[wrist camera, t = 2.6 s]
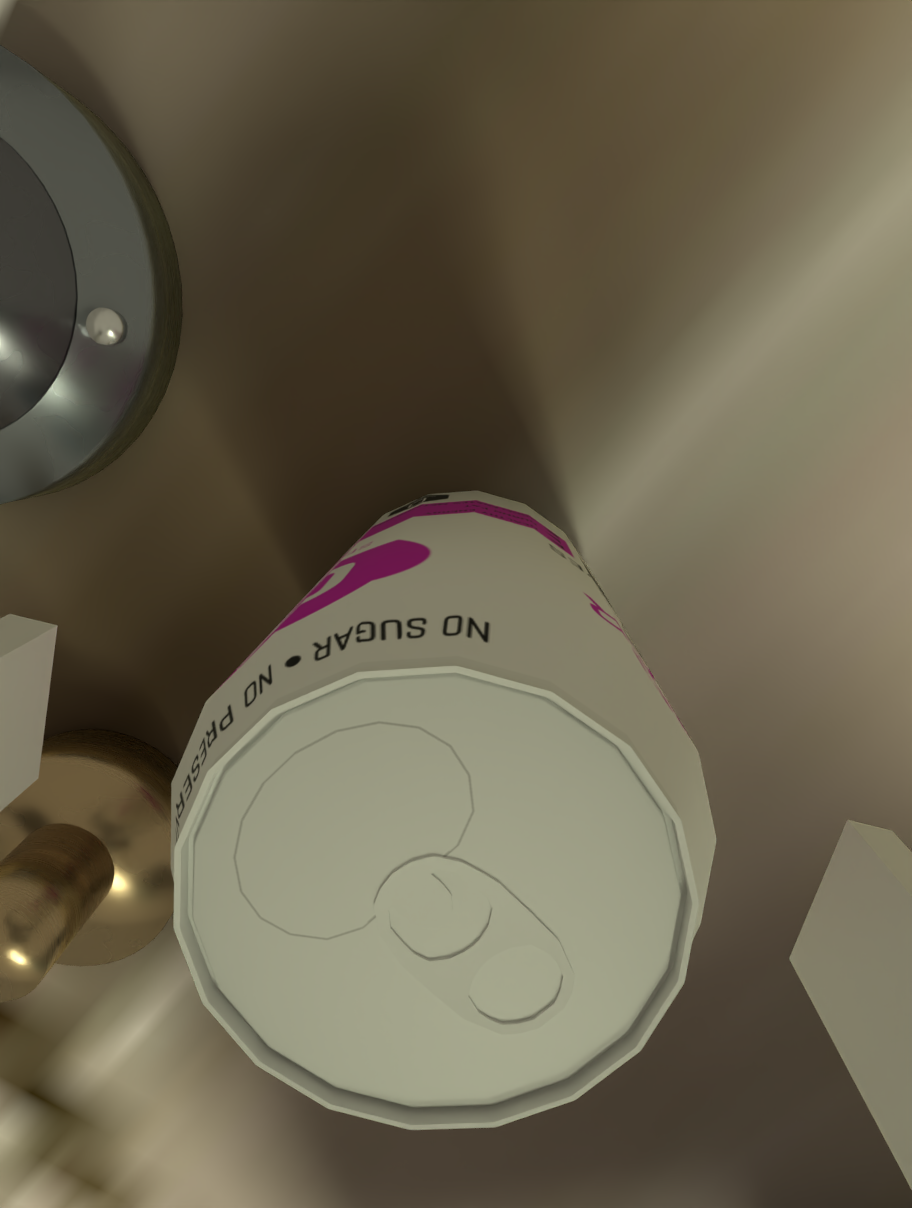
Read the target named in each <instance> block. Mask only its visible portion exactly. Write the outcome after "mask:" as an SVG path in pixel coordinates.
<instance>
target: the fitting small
mask: <svg viewBox="0 0 912 1208" xmlns="http://www.w3.org/2000/svg"><path fill="white" fill-rule="evenodd" d="M177 769H178V767H177V766H176V765H175V764H174V763H173V762H172V761H171V760H169V759H168V758H167V757H166V756H164V755H163V754H162V753H161V752H159V751H158V750H156V749H155V748H153V747H151V746H150V745H148V744H146V743H144V742H142V741H140V740H138V739H135V738H133V737H131V736H127V735H124V734H121V733H117V732H112V731H106V730H94V729H87V730H75V731H70V732H65V733H61V734H58V735H55V736H52V737H50V738H48V739H46V740H44V741H43V745H42V753H41V761H40V769H39V777H38V779H37V780H36V781H35V782H34V783H32V784H31V785H30V786H29V787H28V788H27V789H26V790H24V791H23V792H22V793H21V794H20V795H19V796H18V797H16V798H15V799H14V800H13V801H12V802H11V803H10V804H8V805H7V806H6V807H5V808H4V809H3V810H2V811H1V812H0V1002H6V1001H12V1000H16V999H19V998H21V997H23V996H25V995H27V994H28V993H30V992H31V991H32V990H34V989H35V988H36V986H37V985H38V984H39V983H40V982H41V980H42V979H43V978H44V976H45V975H46V974H47V972H48V971H49V970H50V969H51V967H52V966H53V965H54V963H58V964H63V965H72V966H93V965H100V964H106V963H110V962H114V961H117V960H120V959H123V958H125V957H127V956H130V955H132V954H134V953H135V952H137V951H139V950H140V949H142V948H143V947H145V946H146V945H147V944H148V943H150V942H151V941H152V940H153V939H154V938H155V937H156V936H157V935H158V934H159V932H160V931H161V930H162V929H163V927H164V926H165V924H166V923H167V921H168V920H169V918H170V916H171V915H172V913H173V912H174V880H173V876H172V872H171V783H172V781H173V778H174V776H175V773H176V771H177Z"/></svg>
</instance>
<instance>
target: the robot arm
mask: <svg viewBox="0 0 912 1208" xmlns="http://www.w3.org/2000/svg"><path fill="white" fill-rule="evenodd" d="M57 626H58V625H54V624H50V623H46V622H42V621H38V620H33V619H29V618H25V617H21V616H17V615H13V614H8V615H6V616H4V617H2V618H0V812H1V811H2V810H3V809H4V808H5V807H6V806H7V805H8V804H10V803H11V802H12V801H13V800H14V799H15V798H16V797H18V796H19V795H20V794H21V793H22V792H23V791H24V790H26V789H27V788H28V787H29V786H30V785H31V784H32V783H34V782H35V781H36V780H37V779H38V777H39V769H40V761H41V753H42V745H43V737H44V729H45V722H46V714H47V706H48V698H49V690H50V682H51V674H52V666H53V658H54V650H55V642H56V634H57ZM789 960H790V961H791V963H792V965H793V967H794V969H795V971H796V973H797V975H798V977H799V978H800V980H801V982H802V984H803V986H804V988H805V990H806V992H807V993H808V995H809V997H810V999H811V1001H812V1003H813V1005H814V1007H815V1009H816V1010H817V1012H818V1014H819V1016H820V1018H821V1020H822V1022H823V1024H824V1026H825V1027H826V1029H827V1031H828V1033H829V1035H830V1037H831V1039H832V1041H833V1043H834V1044H835V1046H836V1048H837V1050H838V1052H839V1054H840V1056H841V1058H842V1060H843V1061H844V1063H845V1065H846V1067H847V1069H848V1071H849V1073H850V1075H851V1077H852V1078H853V1080H854V1082H855V1084H856V1086H857V1088H858V1090H859V1092H860V1094H861V1095H862V1097H863V1099H864V1101H865V1103H866V1105H867V1107H868V1109H869V1111H870V1112H871V1114H872V1116H873V1118H874V1120H875V1122H876V1124H877V1126H878V1127H879V1129H880V1131H881V1133H882V1135H883V1137H884V1139H885V1141H886V1143H887V1144H888V1146H889V1148H890V1150H891V1152H892V1154H893V1156H894V1158H895V1160H896V1161H897V1163H898V1165H899V1167H900V1169H901V1171H902V1173H903V1175H904V1177H905V1178H906V1180H907V1182H908V1184H909V1186H910V1188H911V1190H912V852H911V851H910V850H909V848H908V847H907V846H906V845H905V844H904V843H903V842H902V841H901V840H900V839H899V838H898V836H897V835H896V834H895V833H894V832H893V831H892V830H888V829H884V828H880V827H876V826H872V825H868V824H863V823H859V822H855V821H851V820H847V822H846V824H845V826H844V829H843V831H842V834H841V836H840V838H839V841H838V843H837V845H836V848H835V850H834V853H833V855H832V857H831V860H830V862H829V865H828V867H827V869H826V872H825V874H824V876H823V879H822V881H821V884H820V886H819V888H818V891H817V893H816V895H815V898H814V900H813V903H812V905H811V907H810V910H809V912H808V915H807V917H806V919H805V922H804V924H803V926H802V929H801V931H800V934H799V936H798V938H797V941H796V943H795V945H794V948H793V950H792V953H791V955H790V957H789Z"/></svg>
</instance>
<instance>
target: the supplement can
mask: <svg viewBox="0 0 912 1208" xmlns="http://www.w3.org/2000/svg"><path fill="white" fill-rule="evenodd" d="M716 841H717V839H716V834H715V829H714V824H713V819H712V815H711V810H710V805H709V800H708V795H707V790H706V786H705V781H704V776H703V771H702V766H701V761H700V757H699V752H698V750H697V749H696V747H695V745H694V744H693V742H692V740H691V739H690V737H689V735H688V734H687V732H686V730H685V729H684V727H683V725H682V724H681V722H680V720H679V719H678V717H677V715H676V714H675V712H674V710H673V709H672V707H671V705H670V704H669V702H668V700H667V699H666V697H665V695H664V694H663V692H662V690H661V689H660V687H659V685H658V683H657V682H656V680H655V678H654V677H653V675H652V673H651V672H650V670H649V668H648V667H647V665H646V663H645V662H644V660H643V658H642V657H641V655H640V653H639V652H638V650H637V648H636V647H635V645H634V643H633V642H632V640H631V638H630V637H629V635H628V633H627V632H626V630H625V628H624V627H623V625H622V623H621V622H620V620H619V618H618V617H617V615H616V613H615V612H614V610H613V608H612V607H611V605H610V603H609V602H608V600H607V598H606V597H605V595H604V593H603V591H602V590H601V588H600V586H599V585H598V583H597V581H596V580H595V578H594V576H593V575H592V573H591V572H590V570H589V569H588V567H587V565H586V564H585V562H584V561H583V559H582V558H581V556H580V555H579V553H578V552H577V550H576V549H575V547H574V546H573V544H572V543H571V541H570V540H569V538H568V537H567V535H566V534H565V532H563V531H562V530H560V529H559V528H558V527H556V526H555V525H554V524H552V523H551V522H549V521H548V520H547V519H545V518H544V517H542V516H541V515H540V514H538V513H537V512H536V511H534V510H533V509H531V508H530V507H529V506H527V505H526V504H524V503H520V502H517V501H513V500H510V499H506V498H502V497H499V496H495V495H492V494H488V493H485V492H481V491H477V490H476V491H464V492H451V493H438V494H427V495H425V496H423V497H421V498H419V499H416V500H414V501H412V502H410V503H408V504H406V505H403V506H401V507H399V508H397V509H395V510H392V511H390V512H388V513H386V514H384V515H383V516H382V517H381V518H380V519H379V520H378V521H377V522H376V523H375V524H374V525H373V526H372V527H371V528H370V529H369V530H368V531H367V532H366V533H365V534H364V535H363V536H362V537H361V538H360V539H359V540H358V541H357V542H356V543H355V544H354V545H353V546H352V547H351V548H350V549H349V550H348V551H347V552H346V553H345V554H344V555H343V556H342V557H341V558H340V559H339V561H338V562H337V563H336V564H335V565H334V566H333V567H332V568H331V569H330V570H329V571H328V572H327V573H326V574H325V575H324V576H323V578H322V579H321V580H320V581H319V582H318V583H317V584H316V585H315V586H314V587H313V588H312V589H311V590H310V591H309V592H308V593H307V595H306V596H305V597H304V598H303V599H302V600H301V601H300V602H299V603H298V604H297V605H296V606H295V607H294V608H293V609H292V611H291V612H290V613H289V614H288V615H287V616H286V617H285V618H284V619H283V620H282V621H281V622H280V623H279V624H278V625H277V626H276V628H275V629H274V630H273V631H272V632H271V633H270V634H269V635H268V636H267V637H266V638H265V639H264V640H263V641H262V642H261V643H260V645H259V646H258V647H257V648H256V649H255V650H254V651H253V652H252V653H251V654H250V655H249V656H248V657H247V658H246V659H245V661H244V662H243V663H242V664H241V665H240V666H239V667H238V668H237V669H236V670H235V671H234V672H233V673H232V674H231V675H230V676H229V678H228V679H227V680H226V681H225V682H224V683H223V684H222V685H221V686H220V687H219V688H218V689H217V690H216V691H215V692H214V693H213V695H212V696H211V697H210V698H209V699H208V700H207V701H206V702H205V705H204V707H203V709H202V712H201V714H200V717H199V719H198V721H197V724H196V726H195V728H194V731H193V733H192V736H191V738H190V740H189V743H188V745H187V747H186V750H185V752H184V755H183V757H182V759H181V762H180V764H179V766H178V769H177V771H176V773H175V776H174V778H173V781H172V783H171V872H172V876H173V880H174V931H175V934H176V936H177V939H178V941H179V944H180V947H181V949H182V952H183V954H184V957H185V959H186V962H187V965H188V967H189V970H190V972H191V975H192V978H193V980H194V983H195V985H196V988H197V991H198V993H199V996H200V998H201V1001H202V1003H203V1005H204V1006H205V1007H206V1008H207V1009H208V1010H209V1012H210V1013H211V1014H212V1015H213V1016H214V1017H215V1019H216V1020H217V1021H218V1022H219V1023H220V1024H221V1025H222V1027H223V1028H224V1029H225V1030H226V1031H227V1032H228V1033H229V1035H230V1036H231V1037H232V1038H233V1039H234V1040H235V1042H236V1043H237V1044H238V1045H239V1046H240V1047H241V1048H242V1050H243V1051H244V1052H245V1053H246V1054H247V1055H248V1057H249V1058H250V1059H251V1060H252V1061H253V1062H254V1063H255V1065H256V1066H258V1067H260V1068H261V1069H263V1070H265V1071H266V1072H268V1073H269V1074H271V1075H273V1076H274V1077H276V1078H278V1079H279V1080H281V1081H283V1082H284V1083H286V1084H288V1085H289V1086H291V1087H293V1088H294V1089H296V1090H298V1091H299V1092H301V1093H303V1094H304V1095H306V1096H308V1097H309V1098H311V1099H313V1100H314V1101H316V1102H318V1103H319V1104H321V1105H322V1106H324V1107H326V1108H327V1109H330V1110H334V1111H338V1112H342V1113H346V1114H350V1115H354V1116H358V1117H361V1118H365V1119H369V1120H373V1121H377V1122H381V1123H385V1124H389V1125H393V1126H396V1127H400V1128H404V1129H408V1130H430V1129H460V1128H490V1127H498V1126H501V1125H504V1124H507V1123H510V1122H513V1121H516V1120H519V1119H522V1118H525V1117H527V1116H530V1115H533V1114H536V1113H539V1112H542V1111H545V1110H548V1109H551V1108H554V1107H557V1106H560V1105H563V1104H566V1103H569V1102H572V1101H575V1100H576V1099H578V1098H579V1097H580V1096H581V1095H583V1094H584V1093H585V1092H587V1091H588V1090H589V1089H591V1088H592V1087H593V1086H595V1085H596V1084H597V1083H599V1082H600V1081H601V1080H603V1079H604V1078H605V1077H607V1076H608V1075H609V1074H611V1073H612V1072H613V1071H615V1070H616V1069H617V1068H619V1067H620V1066H621V1065H623V1064H624V1063H625V1062H627V1061H628V1060H629V1059H631V1058H632V1057H633V1056H635V1055H636V1054H637V1053H639V1052H640V1051H641V1050H642V1048H643V1047H644V1045H645V1043H646V1042H647V1040H648V1039H649V1037H650V1036H651V1034H652V1033H653V1031H654V1029H655V1028H656V1026H657V1025H658V1023H659V1022H660V1020H661V1019H662V1017H663V1015H664V1014H665V1012H666V1011H667V1009H668V1008H669V1006H670V1005H671V1003H672V1002H673V1000H674V998H675V997H676V995H677V994H678V992H679V991H680V989H681V988H682V986H683V984H684V983H685V977H686V972H687V967H688V961H689V956H690V951H691V945H692V941H693V939H694V937H695V935H696V933H697V931H698V929H699V927H700V925H701V920H702V914H703V909H704V904H705V899H706V893H707V888H708V883H709V878H710V872H711V867H712V862H713V857H714V851H715V846H716Z"/></svg>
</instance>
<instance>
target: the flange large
mask: <svg viewBox="0 0 912 1208" xmlns="http://www.w3.org/2000/svg"><path fill="white" fill-rule="evenodd" d="M181 323H182V289H181V280H180V273H179V267H178V260H177V255H176V251H175V247H174V244H173V240H172V236H171V233H170V229H169V226H168V223H167V221H166V219H165V216H164V214H163V211H162V209H161V206H160V204H159V201H158V199H157V197H156V195H155V193H154V191H153V189H152V188H151V186H150V184H149V182H148V180H147V179H146V177H145V175H144V173H143V171H142V170H141V168H140V167H139V165H138V164H137V163H136V161H135V160H134V158H133V157H132V156H131V154H130V153H129V151H128V150H127V149H126V147H125V146H124V144H123V143H122V142H121V141H120V140H119V139H118V138H117V137H116V136H115V134H114V133H113V132H112V131H111V130H110V129H109V128H108V127H107V126H106V125H105V123H104V122H103V121H102V120H100V119H99V118H98V117H97V116H96V115H95V114H94V113H92V112H91V111H90V110H89V109H88V108H87V107H85V106H84V105H83V104H82V103H81V102H80V101H78V100H77V99H76V98H74V97H73V96H72V95H70V94H69V93H68V92H66V91H65V90H63V89H62V88H61V87H59V86H58V85H57V84H55V83H54V82H52V81H51V80H50V79H48V78H47V77H46V76H44V75H43V74H42V73H40V72H39V71H37V70H36V69H35V68H33V67H32V66H31V65H29V64H28V63H26V62H25V61H23V60H22V59H20V58H19V57H17V56H16V55H14V54H13V53H11V52H10V51H8V50H7V49H5V48H4V47H2V46H1V45H0V504H3V503H8V502H12V501H17V500H22V499H26V498H31V497H36V496H40V495H45V494H49V493H53V492H57V491H60V490H62V489H65V488H68V487H70V486H73V485H76V484H78V483H80V482H82V481H84V480H85V479H87V478H89V477H91V476H93V475H94V474H96V473H98V472H100V471H101V470H103V469H104V468H105V467H106V466H108V465H109V464H110V463H112V462H113V461H114V460H116V459H117V458H118V457H120V456H121V455H122V453H123V452H124V451H125V450H126V449H127V448H128V447H129V446H130V445H131V444H132V443H133V442H134V441H135V440H136V439H137V438H138V437H139V435H140V434H141V432H142V431H143V430H144V428H145V427H146V426H147V424H148V423H149V421H150V420H151V419H152V417H153V415H154V413H155V412H156V410H157V408H158V406H159V404H160V402H161V400H162V398H163V396H164V394H165V392H166V389H167V386H168V384H169V381H170V378H171V375H172V373H173V370H174V366H175V361H176V357H177V352H178V348H179V344H180V334H181Z"/></svg>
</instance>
